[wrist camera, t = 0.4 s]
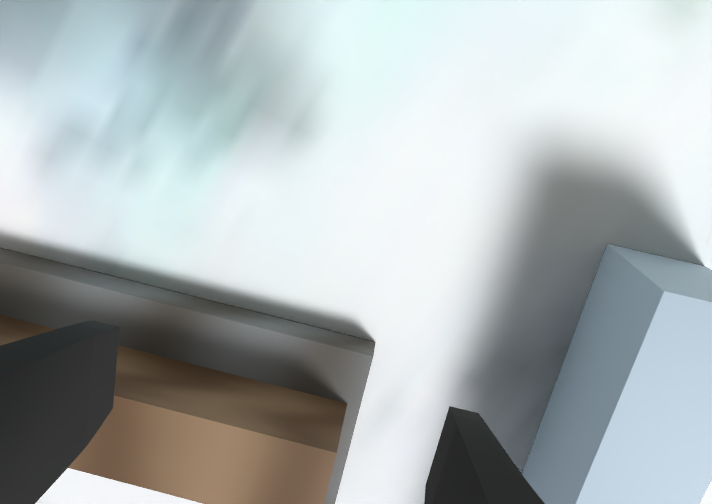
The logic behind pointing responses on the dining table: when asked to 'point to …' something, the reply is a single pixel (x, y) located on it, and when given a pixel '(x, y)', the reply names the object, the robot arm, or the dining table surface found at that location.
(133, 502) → the dining table surface
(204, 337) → the stand
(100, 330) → the robot arm
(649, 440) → the beam
